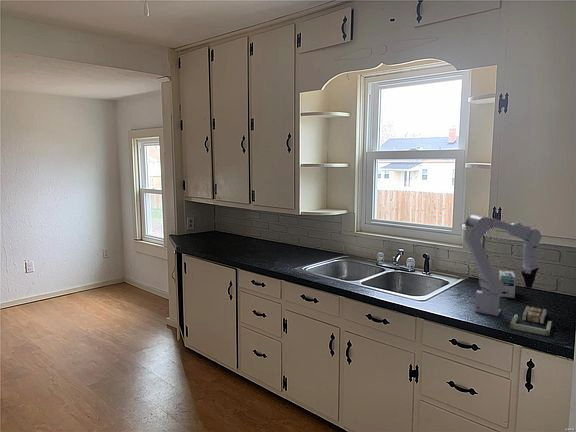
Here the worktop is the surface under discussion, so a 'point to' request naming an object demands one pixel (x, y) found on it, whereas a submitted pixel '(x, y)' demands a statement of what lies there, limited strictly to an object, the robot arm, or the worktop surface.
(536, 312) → the tan square block
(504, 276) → the light bulb box
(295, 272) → the worktop surface
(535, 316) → the tan wooden block
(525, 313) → the slot rails
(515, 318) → the tray
